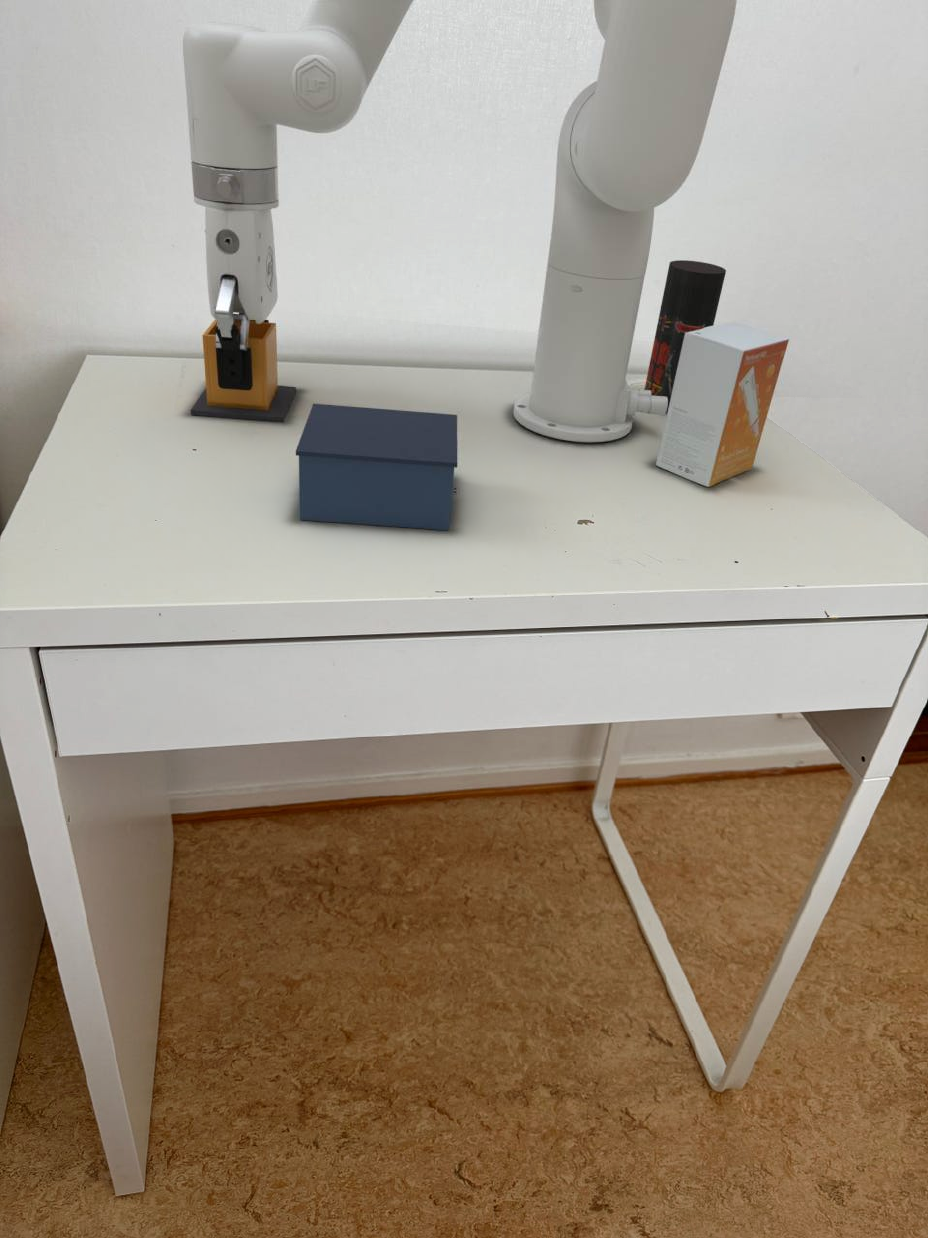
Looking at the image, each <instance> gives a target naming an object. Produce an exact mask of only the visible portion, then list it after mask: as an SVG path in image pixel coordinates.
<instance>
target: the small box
mask: <svg viewBox="0 0 928 1238" xmlns="http://www.w3.org/2000/svg"><path fill="white" fill-rule="evenodd" d="M789 341H790V338H788V337H784V336H781V335H778V334H774V333H771V332H768V331H765V330H762V329H760V328H755V327H752V326H749V325H746V324H743V323H739V322H737V321H730V322H726V323H721V324H714V325H713V326H709V327H705V328H703V329H700V330H695V331H691V332H686V333H685V336H684V340H683V345H682V349H681V354H680V358H679V363H678V367H677V372H676V376H675V381H674V385H673V390H672V394H671V399H670V404H669V408H668V412H666V418H665V423H664V426H663V431H662V436H661V440H660V445H659V449H658V453H657V458H656V462H655V465H656V467H659V468H661V469H664V470H666V471H668V472H671V473H673V474H675V475H676V476H679V477H682V478H685V479H687V480H689V481H691V482H694V483H697V484H699V485H702V486H704V487H707V488H710V487H712V486H714V485H716V484H718V483H720V482H723V481H725V480H727V479H730V478H733V477H735V476H737V475H739V474H742V473H745V472H747V471H750V470H752V469H753V467H754V462H755V460H756V455H757V452H758V450H759V449H758V448H759V445H760V442H761V438H762V435H763V431H764V428H765V423H766V422H767V416H768V413H769V411H770V407H771V403H772V400H773V397H774V393H775V389H776V386H777V382H778V379H779V376H780V372H781V369H782V366H783V362H784V358H785V354H786V352H787V347H788V344H789Z"/></svg>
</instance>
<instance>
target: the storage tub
mask: <svg viewBox="0 0 928 1238" xmlns="http://www.w3.org/2000/svg"><path fill="white" fill-rule="evenodd" d="M295 456H298V491H299V492H298V493H299V495H298V498H299V500H298V501H299V502H298V503H299V520H300V521H311V522H312V521H313V522H325V523H339V524H353V525H367V526H379V527H396V528H410V529H422V530H423V529H424V530H439V531H450V524H451V514H452V513H451V512H452V502H453V491H454V490H453V488H454V476H455V468H456V469H457V468H458V414H453V413H452V414H451V413H439V412H426V411H414V410H401V409H400V410H399V409H388V408H387V409H386V408H374V407H361V406H352V405H351V406H348V405H336V404H325V403H324V404H323V403H313V404H312V406H311V408H310V412H309V414H308V416H307V420H306V423H305V425H304V428H303V430H302V433H301V436H300V439H299V441H298V443H297V446H296V449H295Z"/></svg>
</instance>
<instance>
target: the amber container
mask: <svg viewBox="0 0 928 1238" xmlns="http://www.w3.org/2000/svg"><path fill="white" fill-rule="evenodd" d="M216 327H217V320H216V319H215V318H214V320H213V321H212V323H211V324H210V325H209V327H207V328H206V330H205V331H204V332H203V334H201V335H202V347H203V348H202V349H203V362H204V375H205V377H204V378H205V388H206V392H207V405H208V406H218V407H231V408H244V409H257V410H269V408H270V405H271V403H272V401H273V399H274V397H275V395H276V393H277V391H278V386H279V385H278V384H279V383H278V381H279V380H278V376H279V375H278V348H277V347H278V346H277V345H278V344H277V343H278V341H277V323H276V322H269V323H268V322H262V323H261V324H257V323H256V321H250V323H249V335H248V346H247V347H248V348H251V355H252V377H253V387H252V389H251V390H235V389H222V388H220V387H219V386H218V374H217V360H216V331H215V328H216ZM237 327H238V329H239V333H240V332H241V325H237Z"/></svg>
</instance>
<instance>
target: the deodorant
mask: <svg viewBox="0 0 928 1238" xmlns="http://www.w3.org/2000/svg"><path fill="white" fill-rule="evenodd" d="M726 275H727V270H726V269H725V267H722V266H720V265H717V264H712V263H710V262H709V263H708V262H704V261H697V260H688V259H687V260H686V259H685V260H682V259H681V260H680V259H679V260H671V261H670V262H669V265H668V269H667V274H666V280H665V284H664V290H663V294H662V300H661V304H660V309H659V316H658V320H657V324H656V329H655V335H654V338H653V344H652V345H653V346H652V350H651V353H650V354H651V355H650V359H649V364H648V370H647V375H646V380H645V385H644V389H643V390H650V391H651V395H652V396H664V397H667V398H668V406H667V411H666V413H668V408H669V404H670V399H671V394H672V390H673V385H674V381H675V376H676V372H677V367H678V363H679V358H680V354H681V349H682V345H683V340H684V336H685V333H686V332H691V331H695V330H700V329H703V328H705V327H709V326H715V320H716V317H717V311H718V308H719V303H720V299H721V295H722V290H723V286H724V281H725V278H726Z"/></svg>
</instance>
